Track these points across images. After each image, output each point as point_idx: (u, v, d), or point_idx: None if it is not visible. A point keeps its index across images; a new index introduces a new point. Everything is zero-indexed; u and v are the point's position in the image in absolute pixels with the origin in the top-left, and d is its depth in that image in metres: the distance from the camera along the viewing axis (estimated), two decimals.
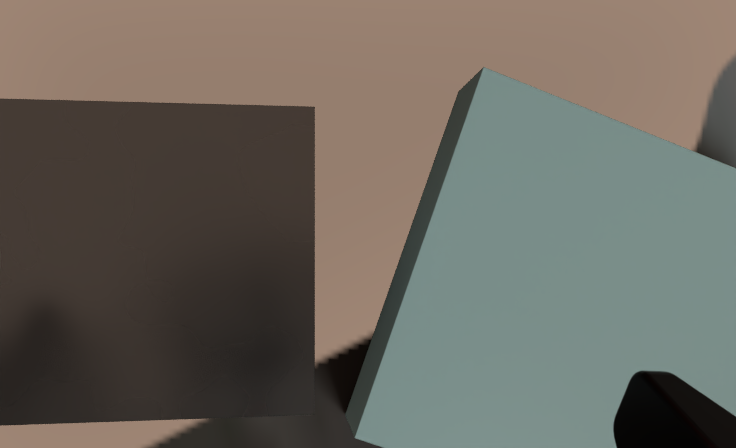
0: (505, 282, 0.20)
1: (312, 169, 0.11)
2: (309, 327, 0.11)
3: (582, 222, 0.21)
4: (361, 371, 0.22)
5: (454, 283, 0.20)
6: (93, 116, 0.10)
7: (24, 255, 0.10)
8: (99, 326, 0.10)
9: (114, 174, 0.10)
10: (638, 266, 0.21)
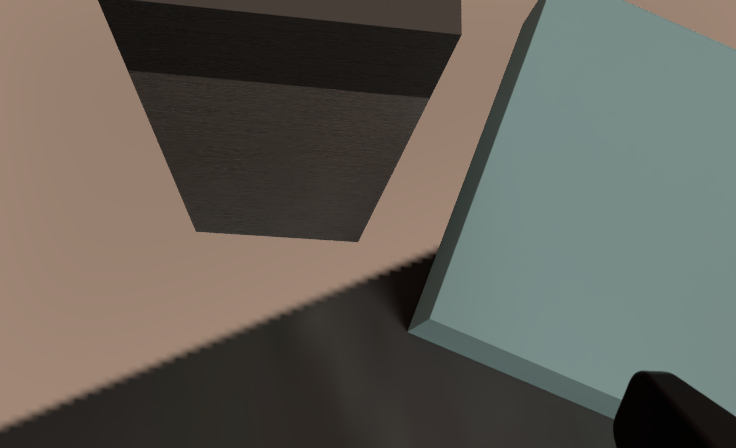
0: (588, 170, 0.19)
1: None
2: None
3: (663, 119, 0.20)
4: (426, 283, 0.20)
5: (534, 167, 0.19)
6: None
7: None
8: None
9: None
10: (724, 167, 0.20)
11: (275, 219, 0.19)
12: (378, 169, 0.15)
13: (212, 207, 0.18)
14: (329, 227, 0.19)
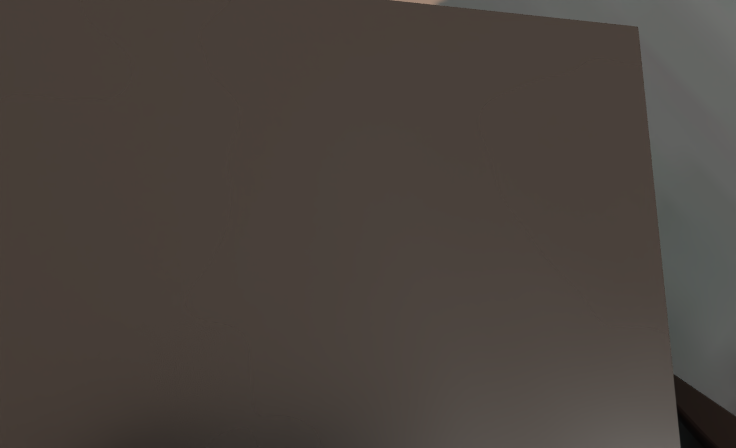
0: None
1: (647, 157, 0.05)
2: None
3: None
4: None
5: None
6: (149, 6, 0.04)
7: None
8: None
9: (187, 139, 0.04)
10: None
11: None
12: None
13: None
14: None
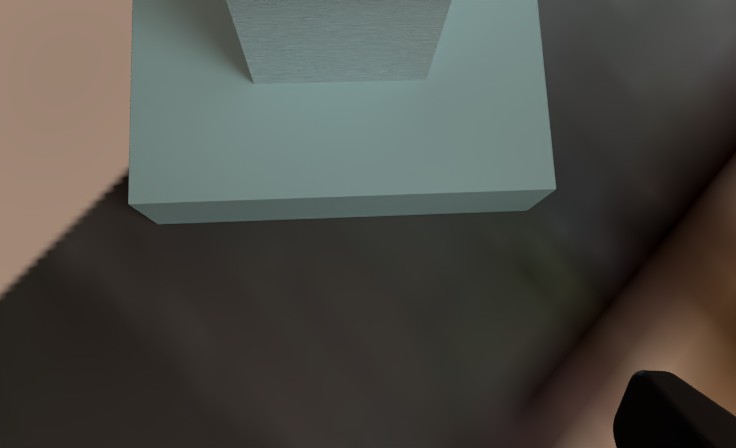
0: None
1: None
2: None
3: None
4: None
5: (179, 25, 0.19)
6: None
7: None
8: None
9: None
10: None
11: (336, 51, 0.17)
12: None
13: (269, 40, 0.16)
14: (395, 58, 0.18)
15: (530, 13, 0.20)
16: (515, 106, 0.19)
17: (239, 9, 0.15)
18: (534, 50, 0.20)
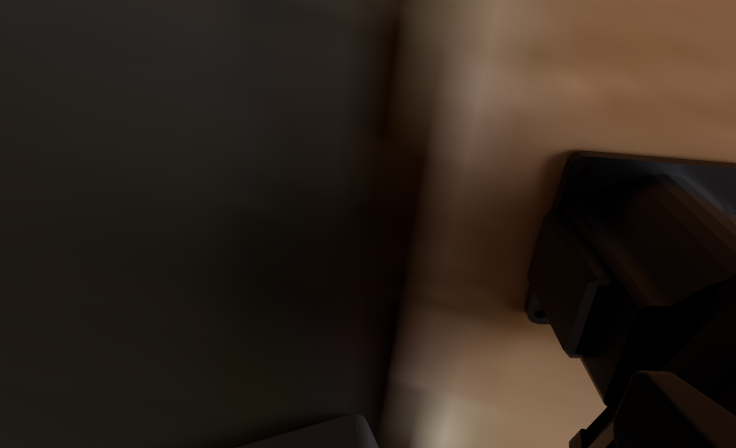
0: None
1: None
2: None
3: None
4: None
5: None
6: None
7: None
8: None
9: None
10: None
11: None
12: None
13: None
14: None
15: None
16: None
17: None
18: None
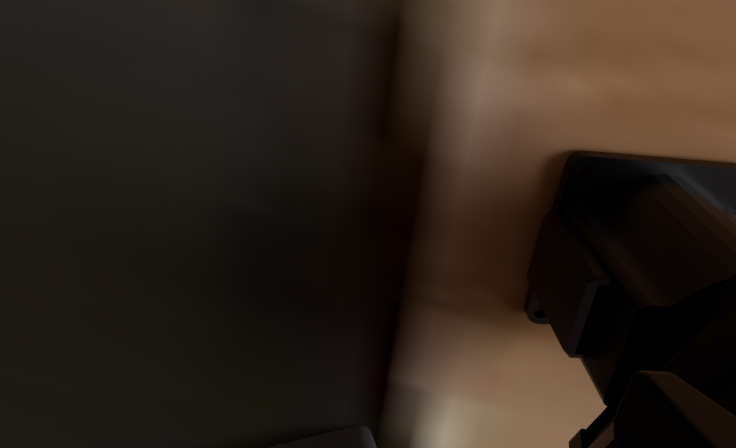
0: None
1: None
2: None
3: None
4: None
5: None
6: None
7: None
8: None
9: None
10: None
11: None
12: None
13: None
14: None
15: None
16: None
17: None
18: None
